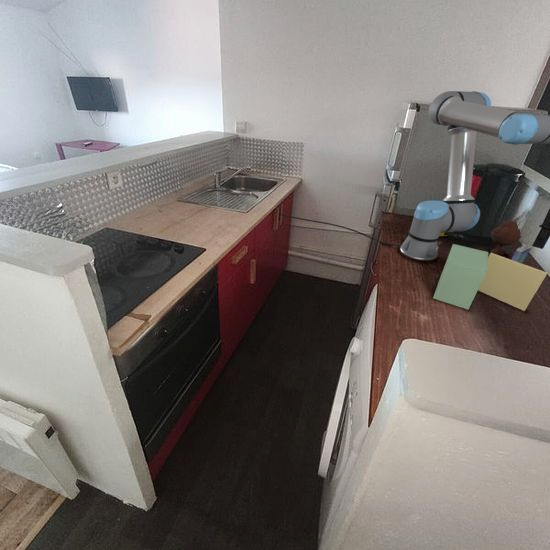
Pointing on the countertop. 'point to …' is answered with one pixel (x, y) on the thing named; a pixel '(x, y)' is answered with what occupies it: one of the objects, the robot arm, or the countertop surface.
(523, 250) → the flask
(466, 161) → the robot arm
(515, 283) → the door
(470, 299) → the cupboard
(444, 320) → the countertop surface
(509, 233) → the ice cream bowl
